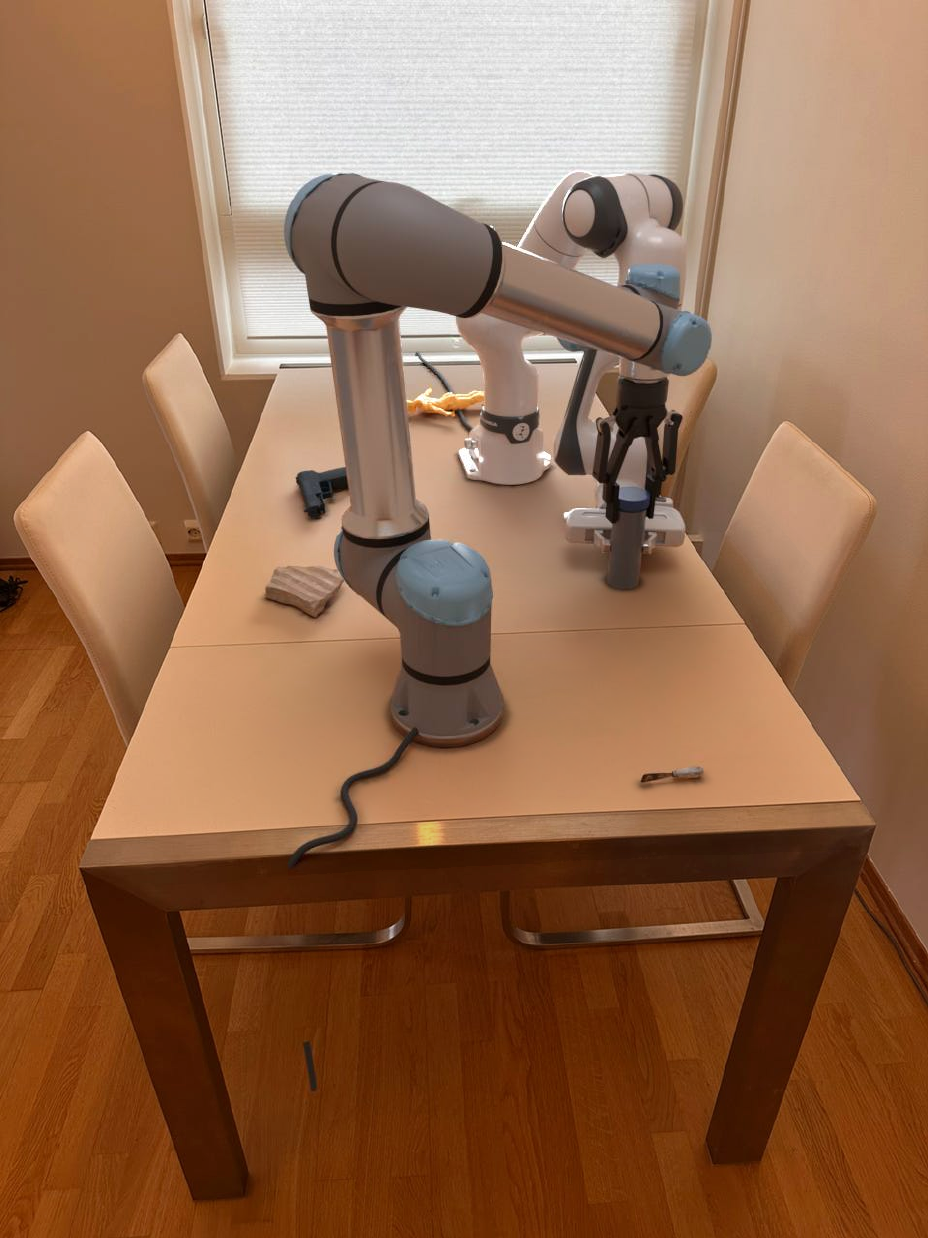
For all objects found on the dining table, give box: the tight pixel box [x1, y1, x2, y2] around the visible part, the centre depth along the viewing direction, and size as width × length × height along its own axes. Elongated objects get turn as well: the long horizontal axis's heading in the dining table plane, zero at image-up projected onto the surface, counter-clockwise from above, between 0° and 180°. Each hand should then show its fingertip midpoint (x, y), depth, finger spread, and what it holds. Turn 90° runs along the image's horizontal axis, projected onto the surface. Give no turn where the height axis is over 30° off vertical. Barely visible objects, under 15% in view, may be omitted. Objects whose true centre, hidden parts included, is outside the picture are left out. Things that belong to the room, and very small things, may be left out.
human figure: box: [407, 385, 484, 418], centre depth 225 cm, size 20×20×4 cm
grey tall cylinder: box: [606, 508, 647, 590], centre depth 147 cm, size 5×5×15 cm
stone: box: [264, 565, 345, 618], centre depth 147 cm, size 13×12×3 cm
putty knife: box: [640, 765, 705, 784], centre depth 109 cm, size 1×8×2 cm, turn 103°
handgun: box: [295, 466, 349, 519], centre depth 179 cm, size 3×18×12 cm
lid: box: [618, 486, 650, 511], centre depth 143 cm, size 6×6×2 cm
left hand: (629, 517), depth 145 cm, fingers closed on lid, 6 cm apart
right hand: (626, 549), depth 147 cm, fingers closed on grey tall cylinder, 5 cm apart
